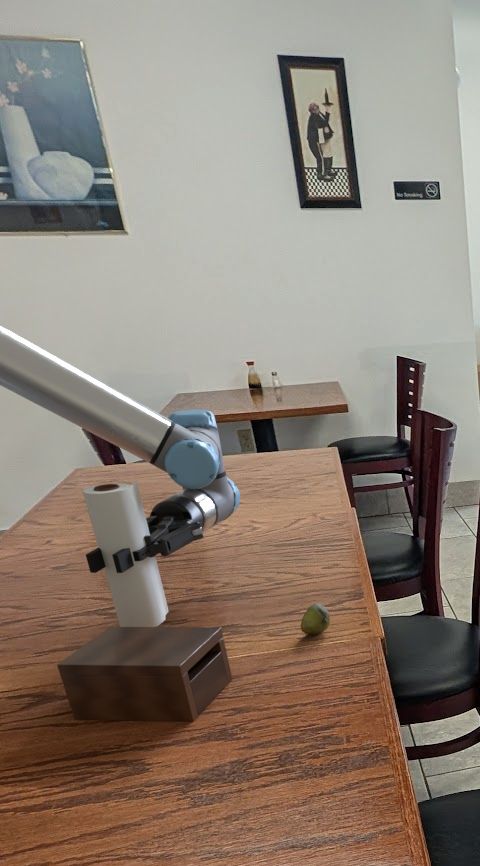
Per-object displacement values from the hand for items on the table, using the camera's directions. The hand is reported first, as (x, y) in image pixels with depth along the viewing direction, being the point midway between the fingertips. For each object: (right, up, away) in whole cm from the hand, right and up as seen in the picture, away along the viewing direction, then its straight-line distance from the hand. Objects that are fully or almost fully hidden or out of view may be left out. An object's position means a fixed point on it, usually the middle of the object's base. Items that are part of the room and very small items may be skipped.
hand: (104, 563), depth 116 cm
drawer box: (+10, -19, -4) cm, 22 cm away
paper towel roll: (+1, -8, +10) cm, 13 cm away
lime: (+26, -10, +15) cm, 31 cm away
